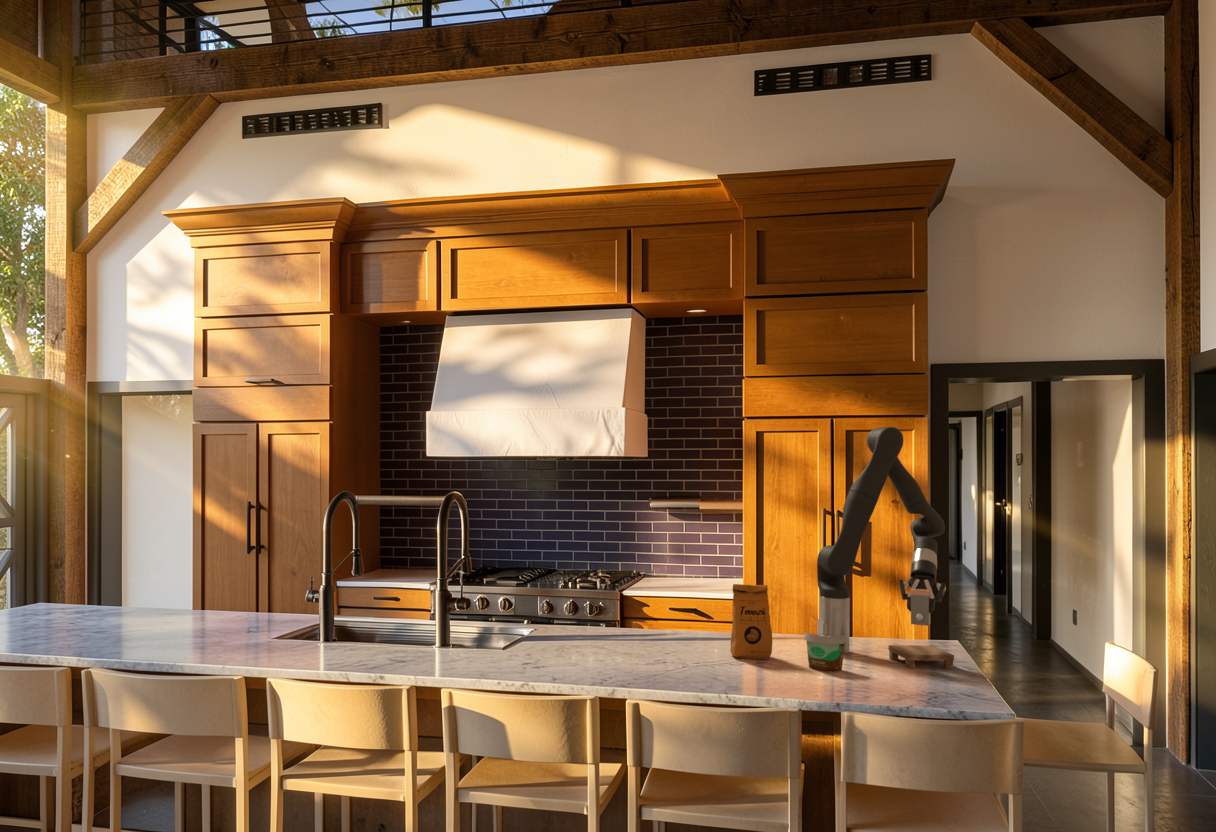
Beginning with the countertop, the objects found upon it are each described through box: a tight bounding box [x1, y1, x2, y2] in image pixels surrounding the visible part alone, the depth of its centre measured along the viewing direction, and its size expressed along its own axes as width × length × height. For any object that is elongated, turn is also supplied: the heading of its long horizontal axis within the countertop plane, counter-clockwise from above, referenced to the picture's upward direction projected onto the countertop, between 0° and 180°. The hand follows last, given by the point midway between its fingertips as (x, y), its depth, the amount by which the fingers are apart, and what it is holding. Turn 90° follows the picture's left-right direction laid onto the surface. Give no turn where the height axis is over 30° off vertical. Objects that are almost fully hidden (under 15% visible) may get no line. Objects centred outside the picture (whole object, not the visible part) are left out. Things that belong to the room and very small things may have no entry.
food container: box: [803, 630, 847, 673], centre depth 247 cm, size 12×6×10 cm, turn 62°
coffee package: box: [730, 583, 773, 660], centre depth 262 cm, size 10×12×22 cm
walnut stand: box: [888, 644, 955, 670], centre depth 258 cm, size 14×14×4 cm
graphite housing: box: [910, 589, 931, 627], centre depth 259 cm, size 5×6×10 cm
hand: (920, 610), depth 258 cm, fingers closed on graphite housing, 5 cm apart
